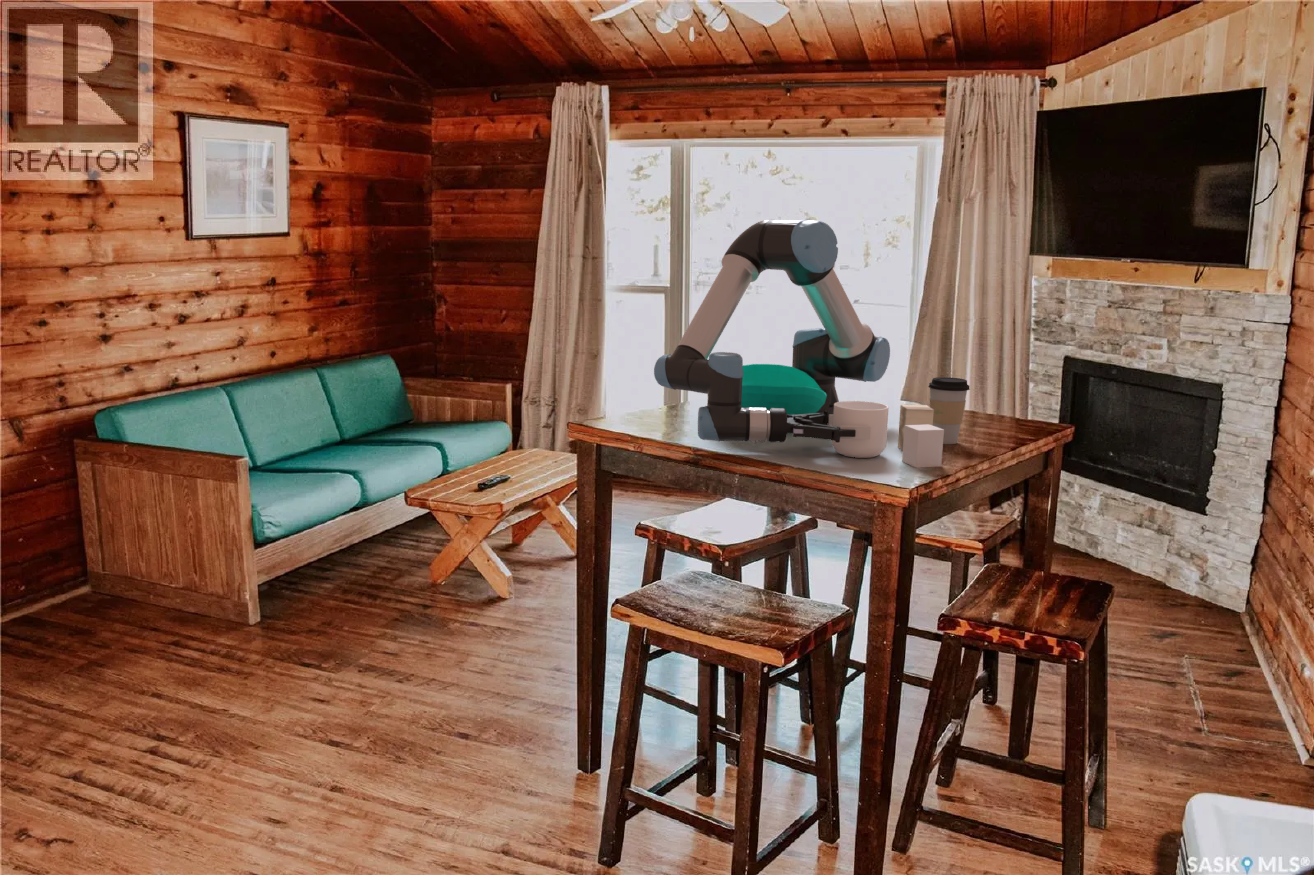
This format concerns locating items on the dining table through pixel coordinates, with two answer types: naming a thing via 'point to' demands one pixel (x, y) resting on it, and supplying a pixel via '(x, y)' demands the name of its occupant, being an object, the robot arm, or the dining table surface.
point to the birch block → (913, 418)
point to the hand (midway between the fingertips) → (863, 426)
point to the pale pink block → (923, 445)
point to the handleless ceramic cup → (861, 416)
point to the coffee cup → (948, 405)
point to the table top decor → (780, 389)
